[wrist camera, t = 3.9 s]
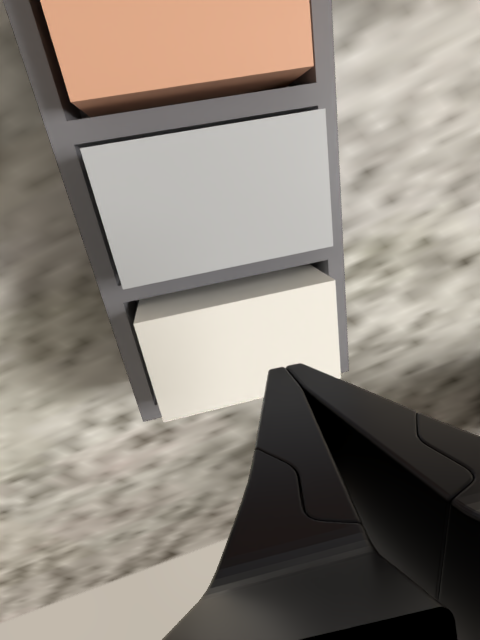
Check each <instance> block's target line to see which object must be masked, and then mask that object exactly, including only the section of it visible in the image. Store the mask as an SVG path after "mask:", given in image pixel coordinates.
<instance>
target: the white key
mask: <svg viewBox="0 0 480 640" xmlns="http://www.w3.org/2000/svg"><path fill="white" fill-rule="evenodd" d="M134 327H135V331H136V334H137V337H138V340H139V344H140V347H141V350H142V353H143V357H144V360H145V363H146V367H147V370H148V373H149V376H150V380H151V383H152V386H153V389H154V393H155V396H156V399H157V403H158V406H159V409H160V412H161V416H162V419H163V422H167V421H171V420H175V419H180V418H184V417H188V416H192V415H196V414H200V413H204V412H208V411H212V410H216V409H220V408H224V407H228V406H232V405H236V404H240V403H244V402H248V401H252V400H256V399H260V398H264V393H265V387H266V381H267V375H268V371H269V370H270V369H274V368H278V367H285V368H286V366H288V365H293V364H298V363H302V364H305V365H307V366H309V367H312V368H314V369H317V370H319V371H321V372H324V373H326V374H329V375H331V376H333V377H336V378H338V379H340V378H341V369H340V351H339V334H338V317H337V300H336V283H335V280H334V279H333V278H331V277H330V276H328V275H326V274H325V273H323V272H321V271H320V270H318V269H317V268H315V267H313V266H312V265H310V264H305V265H300V266H296V267H291V268H286V269H281V270H277V271H272V272H267V273H262V274H258V275H253V276H248V277H243V278H239V279H234V280H229V281H224V282H220V283H215V284H210V285H205V286H201V287H196V288H191V289H186V290H182V291H177V292H172V293H167V294H163V295H158V296H153V297H148V298H144V299H139V303H138V307H137V311H136V316H135V320H134Z"/></svg>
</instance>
